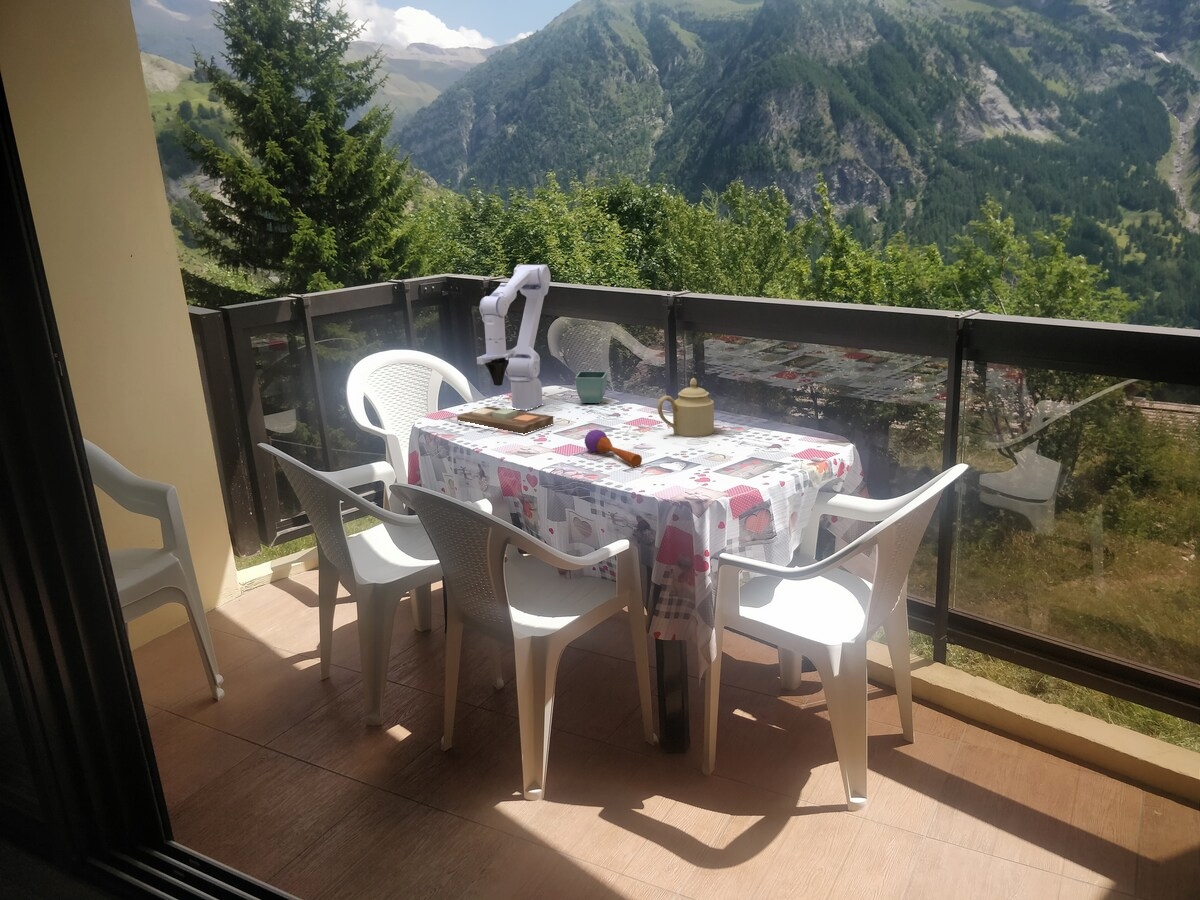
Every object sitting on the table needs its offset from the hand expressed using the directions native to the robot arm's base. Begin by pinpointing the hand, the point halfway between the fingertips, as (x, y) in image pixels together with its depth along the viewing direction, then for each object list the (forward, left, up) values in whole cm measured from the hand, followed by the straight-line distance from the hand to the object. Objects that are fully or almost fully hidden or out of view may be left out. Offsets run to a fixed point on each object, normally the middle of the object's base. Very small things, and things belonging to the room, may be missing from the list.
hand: (498, 385), depth 276 cm
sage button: (+4, +5, -9) cm, 11 cm away
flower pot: (-29, +12, -11) cm, 34 cm away
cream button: (+4, -3, -10) cm, 11 cm away
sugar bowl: (-13, +56, -11) cm, 59 cm away
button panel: (+4, +5, -10) cm, 12 cm away
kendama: (+15, +50, -11) cm, 54 cm away
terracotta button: (+4, +13, -10) cm, 17 cm away
